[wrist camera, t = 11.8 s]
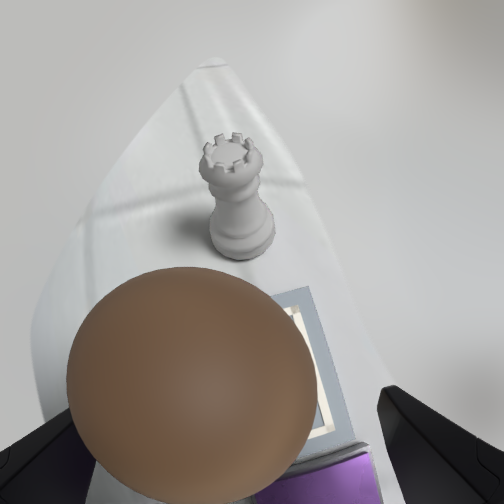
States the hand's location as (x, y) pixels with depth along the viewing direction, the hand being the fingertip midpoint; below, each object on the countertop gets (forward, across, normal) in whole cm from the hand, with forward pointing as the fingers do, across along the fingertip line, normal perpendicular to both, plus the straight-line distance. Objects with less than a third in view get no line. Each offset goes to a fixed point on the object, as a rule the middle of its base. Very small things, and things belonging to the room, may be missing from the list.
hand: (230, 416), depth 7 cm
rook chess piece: (+14, 0, -2) cm, 14 cm away
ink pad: (+1, -4, +11) cm, 12 cm away
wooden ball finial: (+6, 0, +5) cm, 8 cm away
